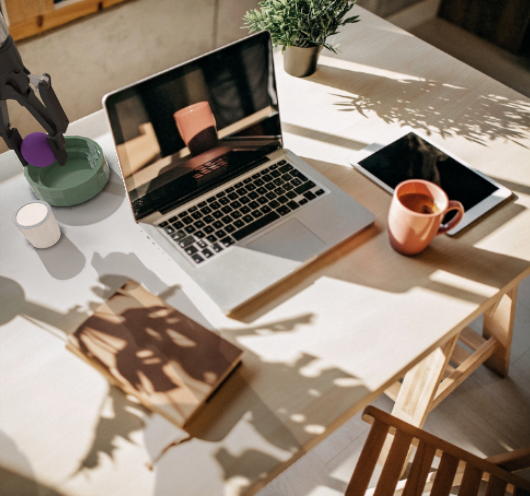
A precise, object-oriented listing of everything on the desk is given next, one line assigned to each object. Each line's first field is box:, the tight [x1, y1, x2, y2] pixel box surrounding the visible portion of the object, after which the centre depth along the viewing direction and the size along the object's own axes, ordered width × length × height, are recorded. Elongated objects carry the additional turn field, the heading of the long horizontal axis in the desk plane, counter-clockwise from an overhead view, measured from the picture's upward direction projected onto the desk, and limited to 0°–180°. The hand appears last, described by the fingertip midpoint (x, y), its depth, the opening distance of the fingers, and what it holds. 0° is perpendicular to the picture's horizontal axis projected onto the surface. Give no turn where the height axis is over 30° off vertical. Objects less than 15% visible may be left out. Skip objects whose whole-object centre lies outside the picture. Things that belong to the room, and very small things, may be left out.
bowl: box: [23, 135, 111, 207], centre depth 101 cm, size 16×16×5 cm
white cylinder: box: [11, 199, 62, 249], centre depth 92 cm, size 7×7×7 cm
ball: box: [21, 131, 56, 167], centre depth 86 cm, size 6×6×6 cm
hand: (45, 160), depth 88 cm, fingers closed on ball, 6 cm apart
